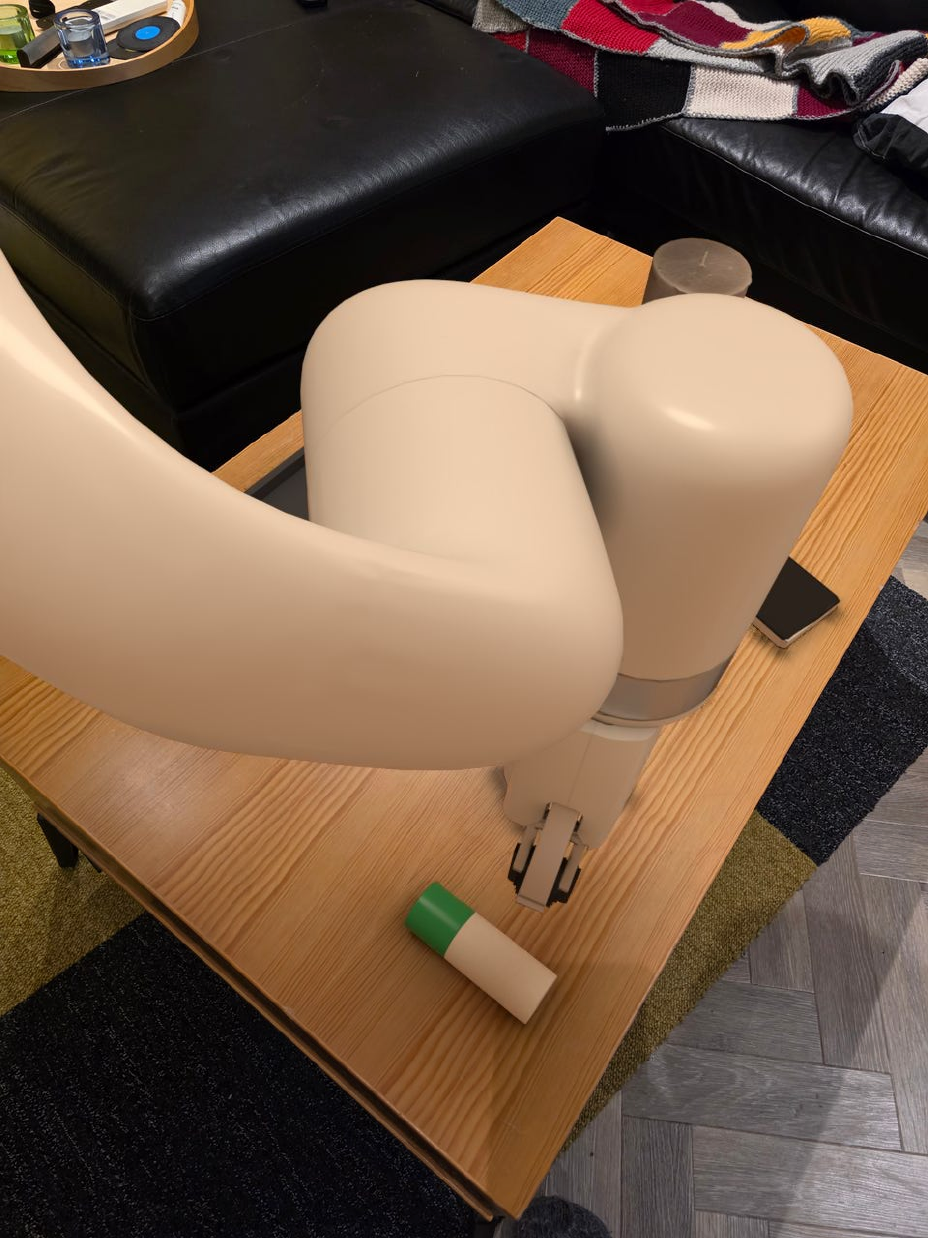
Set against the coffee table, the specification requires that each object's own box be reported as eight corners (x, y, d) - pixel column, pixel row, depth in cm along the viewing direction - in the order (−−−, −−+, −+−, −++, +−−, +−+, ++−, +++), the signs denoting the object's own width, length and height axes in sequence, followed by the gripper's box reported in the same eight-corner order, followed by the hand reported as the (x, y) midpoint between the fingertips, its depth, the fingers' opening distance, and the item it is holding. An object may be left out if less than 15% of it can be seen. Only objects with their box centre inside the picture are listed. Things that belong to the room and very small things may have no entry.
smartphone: (785, 644, 74) (659, 533, 81) (780, 652, 75) (656, 542, 82) (843, 599, 78) (718, 495, 84) (838, 606, 79) (714, 504, 85)
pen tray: (278, 610, 75) (275, 596, 74) (192, 549, 79) (187, 534, 77) (395, 507, 83) (395, 491, 81) (313, 455, 86) (310, 439, 84)
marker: (554, 982, 59) (560, 970, 56) (523, 1028, 57) (527, 1019, 54) (437, 890, 62) (437, 874, 59) (404, 931, 60) (402, 917, 57)
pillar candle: (635, 342, 99) (666, 215, 87) (720, 364, 97) (764, 238, 85) (614, 395, 93) (644, 268, 81) (704, 419, 92) (749, 293, 80)
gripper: (608, 445, 38) (556, 656, 52) (452, 777, 29) (440, 927, 43) (776, 499, 37) (677, 701, 51) (670, 867, 28) (584, 991, 42)
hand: (569, 804), depth 47 cm, fingers open, 9 cm apart
